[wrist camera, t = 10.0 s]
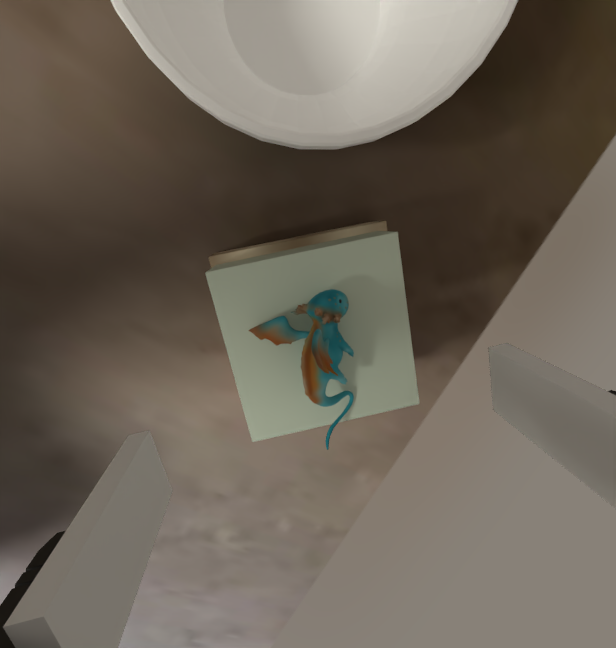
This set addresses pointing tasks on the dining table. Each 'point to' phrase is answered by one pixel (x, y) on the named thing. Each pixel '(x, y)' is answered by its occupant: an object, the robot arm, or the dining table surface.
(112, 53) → the dining table surface
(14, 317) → the dining table surface
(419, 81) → the bowl
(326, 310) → the dragon figurine
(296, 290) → the tower top
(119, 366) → the dining table surface
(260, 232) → the dining table surface
